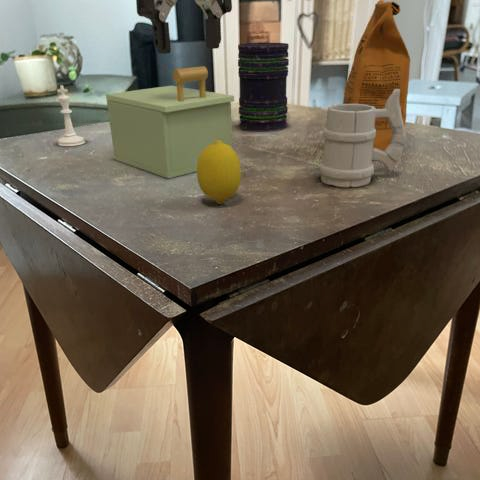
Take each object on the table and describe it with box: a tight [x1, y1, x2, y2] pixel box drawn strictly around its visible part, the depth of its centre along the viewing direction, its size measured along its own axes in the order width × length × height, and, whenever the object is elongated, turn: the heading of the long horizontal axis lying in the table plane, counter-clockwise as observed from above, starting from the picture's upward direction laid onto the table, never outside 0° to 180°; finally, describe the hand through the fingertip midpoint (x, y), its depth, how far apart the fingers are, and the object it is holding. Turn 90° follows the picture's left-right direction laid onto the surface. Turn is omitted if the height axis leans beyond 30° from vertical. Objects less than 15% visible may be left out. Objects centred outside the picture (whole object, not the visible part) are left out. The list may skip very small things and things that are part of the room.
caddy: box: [106, 99, 233, 179], centre depth 86 cm, size 16×13×9 cm
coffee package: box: [342, 0, 411, 151], centre depth 86 cm, size 10×12×22 cm
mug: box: [318, 89, 407, 188], centre depth 75 cm, size 8×12×12 cm, turn 95°
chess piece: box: [56, 84, 86, 147], centre depth 98 cm, size 5×5×10 cm
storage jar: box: [237, 42, 290, 132], centre depth 107 cm, size 10×10×15 cm
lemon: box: [196, 140, 242, 205], centre depth 68 cm, size 6×6×8 cm
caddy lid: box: [105, 65, 235, 113], centre depth 82 cm, size 16×13×5 cm
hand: (189, 50), depth 76 cm, fingers open, 8 cm apart
